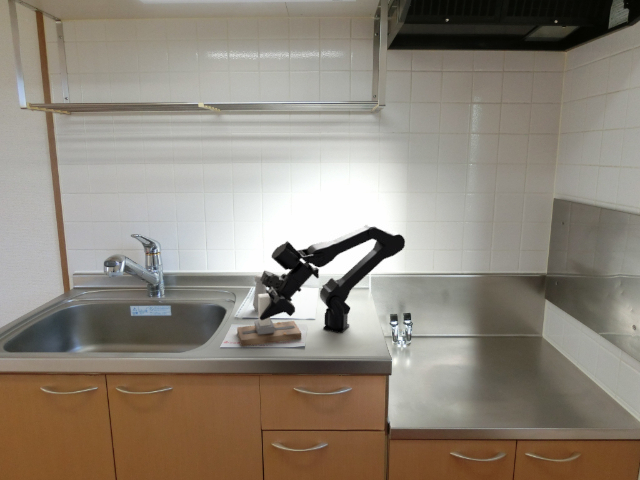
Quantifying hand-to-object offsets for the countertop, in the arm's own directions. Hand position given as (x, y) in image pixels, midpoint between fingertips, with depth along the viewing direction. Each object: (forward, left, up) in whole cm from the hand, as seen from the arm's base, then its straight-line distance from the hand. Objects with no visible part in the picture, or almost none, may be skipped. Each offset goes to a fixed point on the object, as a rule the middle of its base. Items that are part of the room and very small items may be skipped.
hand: (259, 317), depth 133 cm
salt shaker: (+12, -17, -7) cm, 22 cm away
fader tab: (-1, -1, -4) cm, 4 cm away
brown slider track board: (-2, -2, -7) cm, 7 cm away
